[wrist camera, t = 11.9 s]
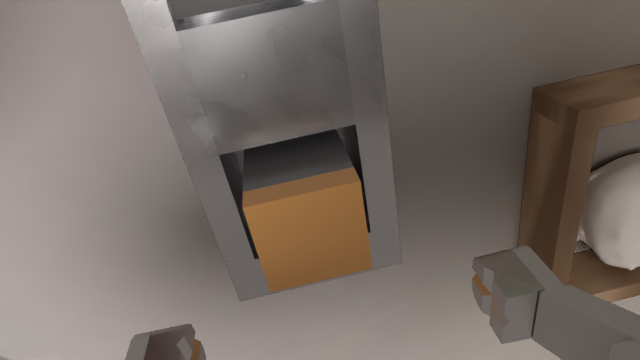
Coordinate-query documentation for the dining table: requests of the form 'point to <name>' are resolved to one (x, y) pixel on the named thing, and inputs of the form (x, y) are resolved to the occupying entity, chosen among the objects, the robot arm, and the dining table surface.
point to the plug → (305, 210)
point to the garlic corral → (573, 175)
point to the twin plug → (205, 6)
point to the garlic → (613, 212)
